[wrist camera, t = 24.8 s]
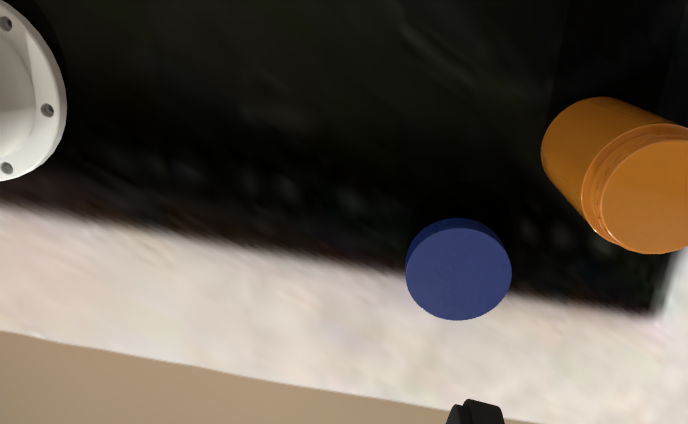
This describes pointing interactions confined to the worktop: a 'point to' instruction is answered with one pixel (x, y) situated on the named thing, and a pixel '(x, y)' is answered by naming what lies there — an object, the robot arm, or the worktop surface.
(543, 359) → the worktop surface
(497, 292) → the lid
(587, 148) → the jar
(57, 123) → the robot arm
